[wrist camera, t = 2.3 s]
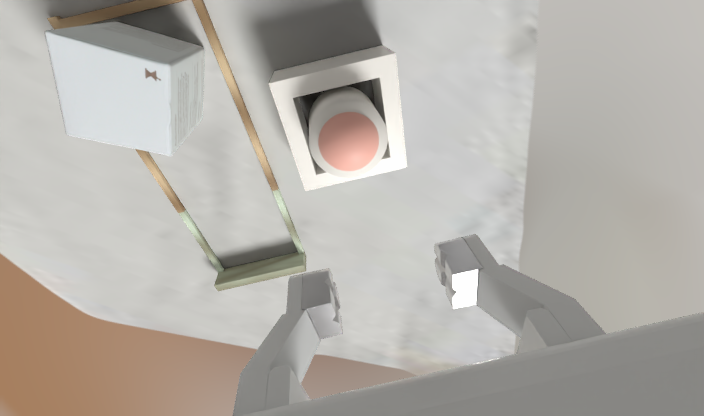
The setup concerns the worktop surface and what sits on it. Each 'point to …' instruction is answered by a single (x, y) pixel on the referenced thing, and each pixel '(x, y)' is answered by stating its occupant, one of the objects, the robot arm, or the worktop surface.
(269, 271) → the track
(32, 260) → the worktop surface
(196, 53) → the product box
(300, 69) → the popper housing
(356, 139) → the white pink rounded piece
